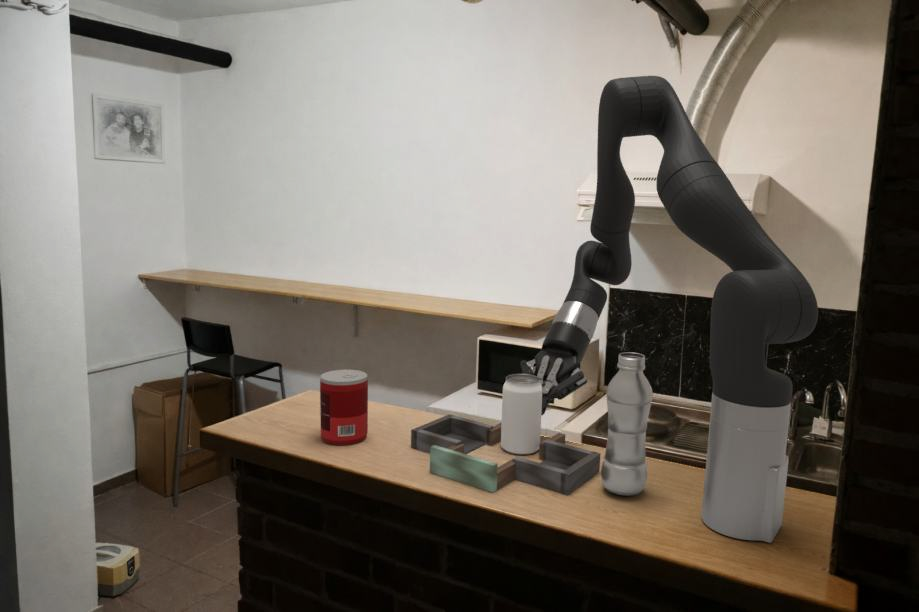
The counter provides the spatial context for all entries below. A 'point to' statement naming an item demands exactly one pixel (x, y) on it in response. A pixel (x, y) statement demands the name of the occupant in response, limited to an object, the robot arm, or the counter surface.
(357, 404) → the canned food
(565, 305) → the robot arm
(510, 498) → the counter surface
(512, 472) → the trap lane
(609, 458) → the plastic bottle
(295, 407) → the counter surface
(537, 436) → the can
